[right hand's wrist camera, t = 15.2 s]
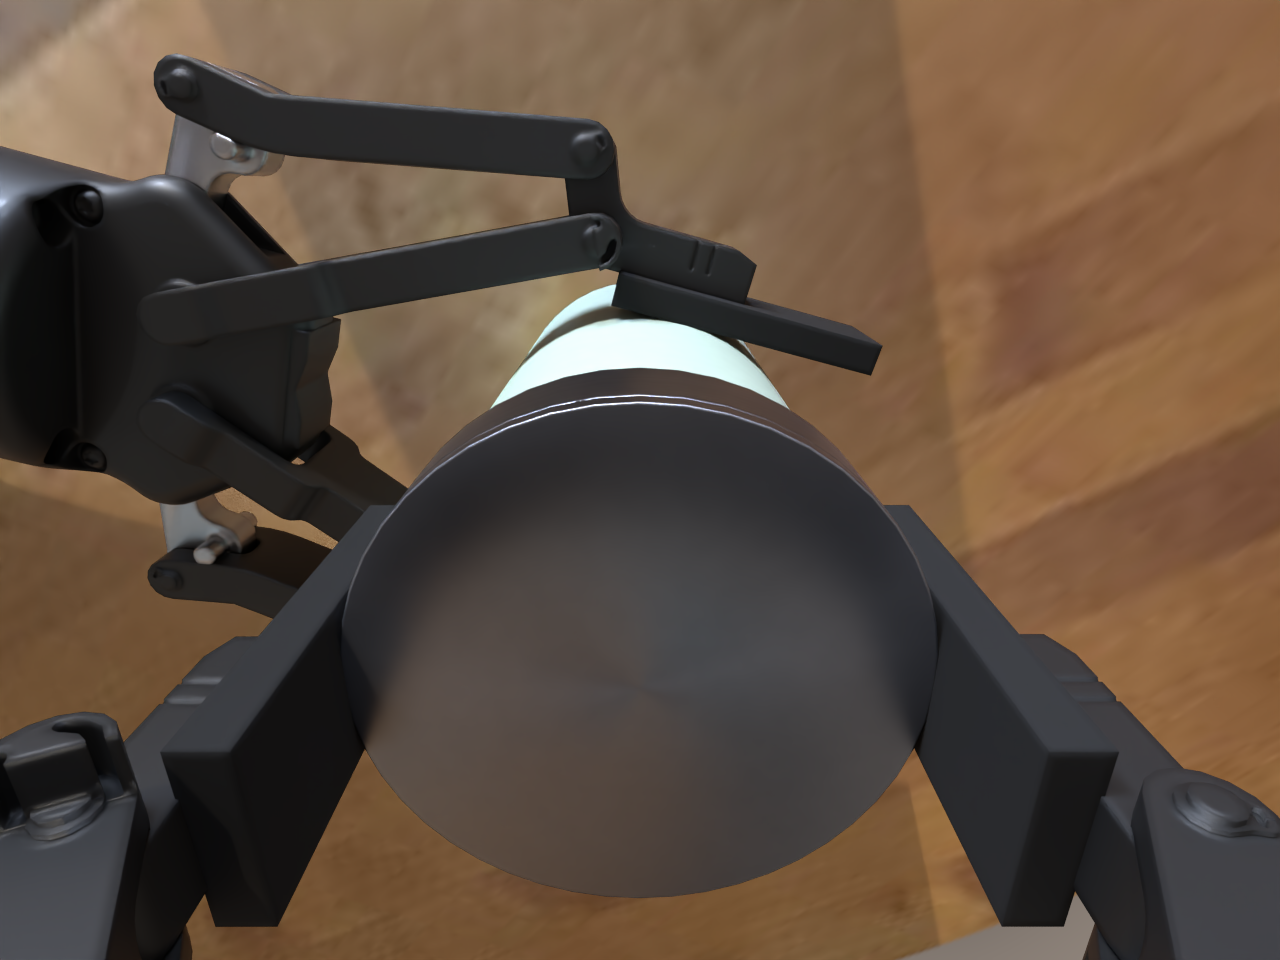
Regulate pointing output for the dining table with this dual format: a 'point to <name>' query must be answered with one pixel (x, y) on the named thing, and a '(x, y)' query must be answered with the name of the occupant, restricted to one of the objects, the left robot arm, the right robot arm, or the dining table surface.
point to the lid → (639, 637)
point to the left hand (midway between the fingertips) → (801, 502)
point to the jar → (631, 348)
